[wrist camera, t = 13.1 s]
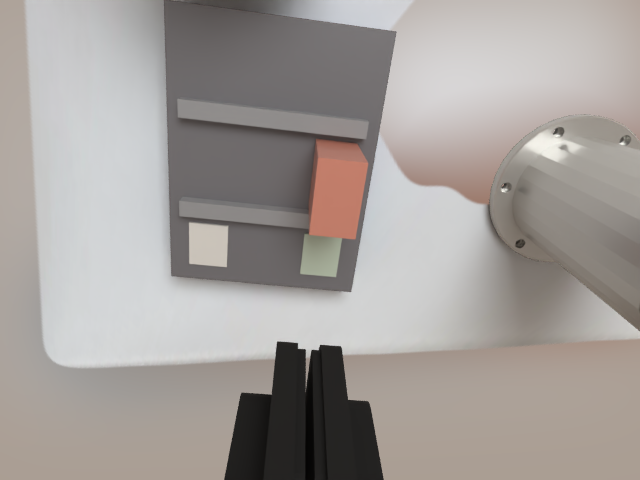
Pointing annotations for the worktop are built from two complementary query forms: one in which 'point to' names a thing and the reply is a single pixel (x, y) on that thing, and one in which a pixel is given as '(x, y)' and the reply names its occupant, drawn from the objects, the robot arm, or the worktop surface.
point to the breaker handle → (336, 189)
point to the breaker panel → (264, 139)
